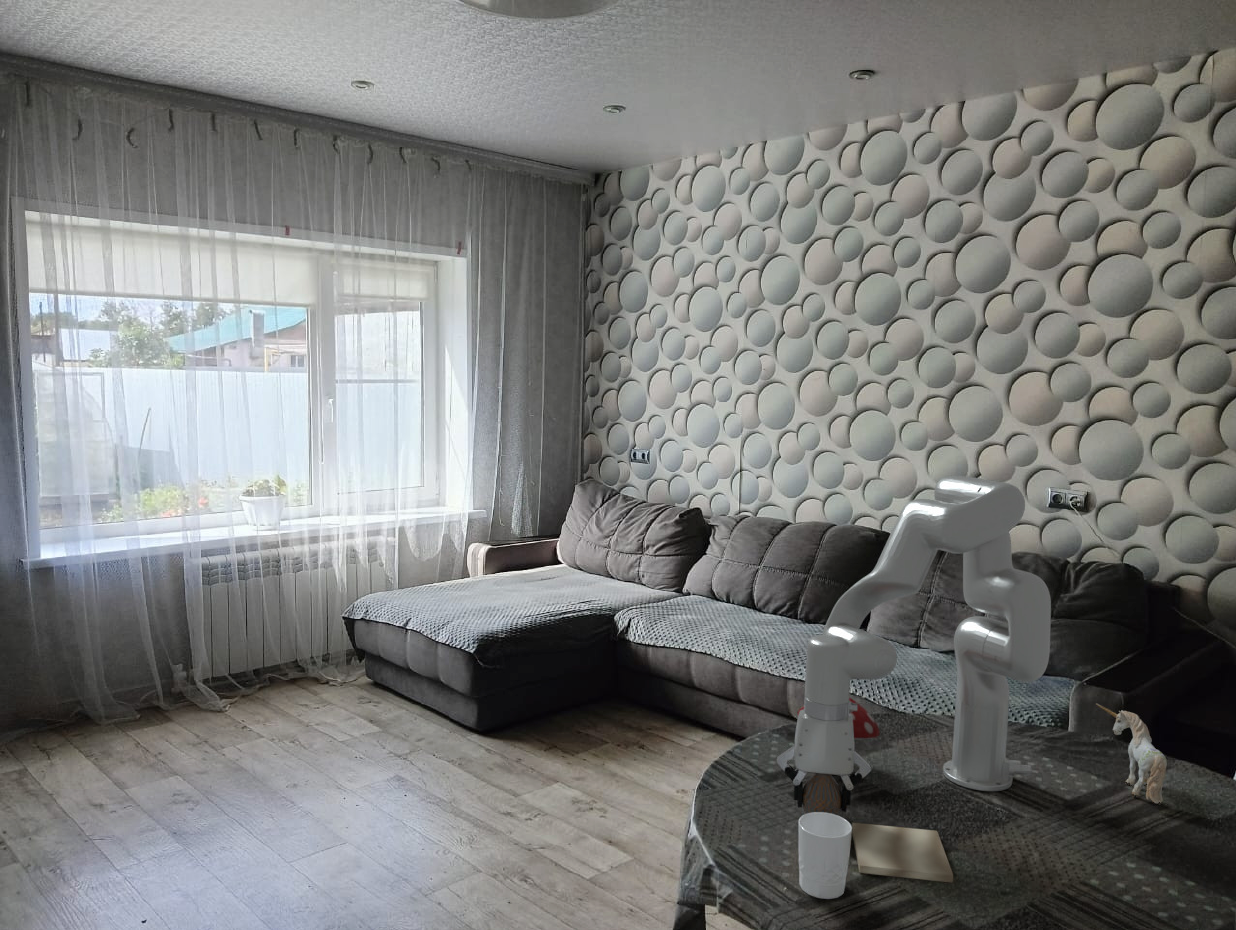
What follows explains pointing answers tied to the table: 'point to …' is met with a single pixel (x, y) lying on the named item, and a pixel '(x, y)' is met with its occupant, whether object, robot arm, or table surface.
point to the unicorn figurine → (1141, 755)
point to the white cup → (823, 854)
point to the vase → (821, 795)
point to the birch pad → (900, 852)
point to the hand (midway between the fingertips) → (821, 805)
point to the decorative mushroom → (862, 723)
